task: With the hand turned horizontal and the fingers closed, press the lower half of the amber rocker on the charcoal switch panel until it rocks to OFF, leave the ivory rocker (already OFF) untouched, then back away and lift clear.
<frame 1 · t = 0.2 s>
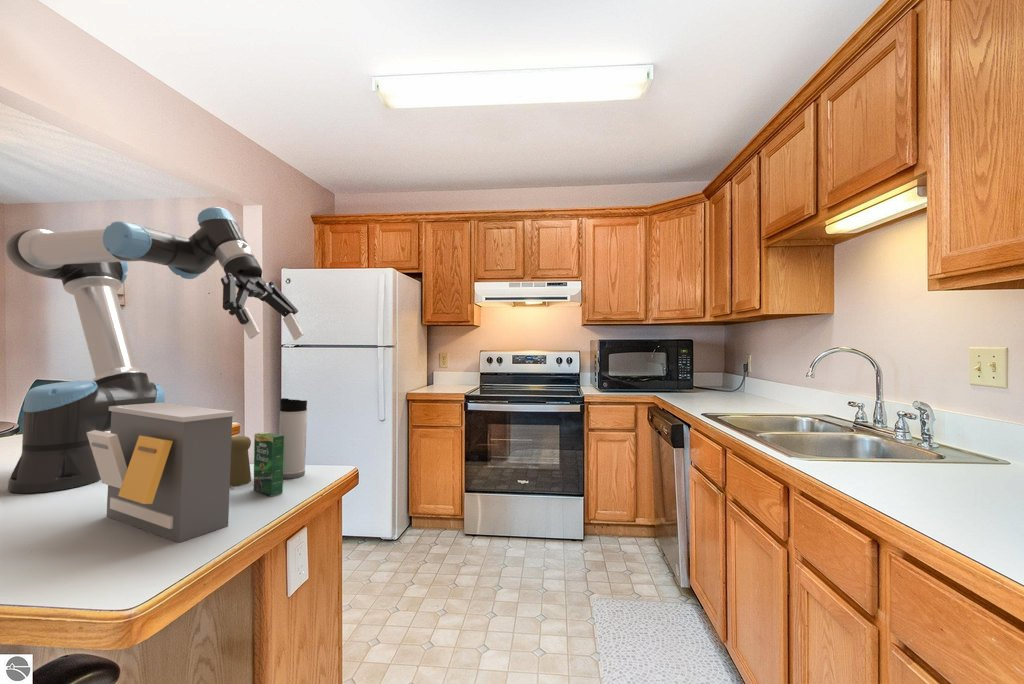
hand: (278, 336, 103), 35 cm above the counter, tool tilted 35°, fingers open, 13 cm apart
rocker ivory: (108, 459, 78), point 12 cm above the counter, hinge at -15.0°
cork: (236, 483, 105), on the counter
switch panel: (166, 521, 81), on the counter
rocker amber: (144, 468, 73), point 12 cm above the counter, hinge at 15.0°
coffee box: (267, 492, 99), on the counter
travel mug: (290, 476, 112), on the counter
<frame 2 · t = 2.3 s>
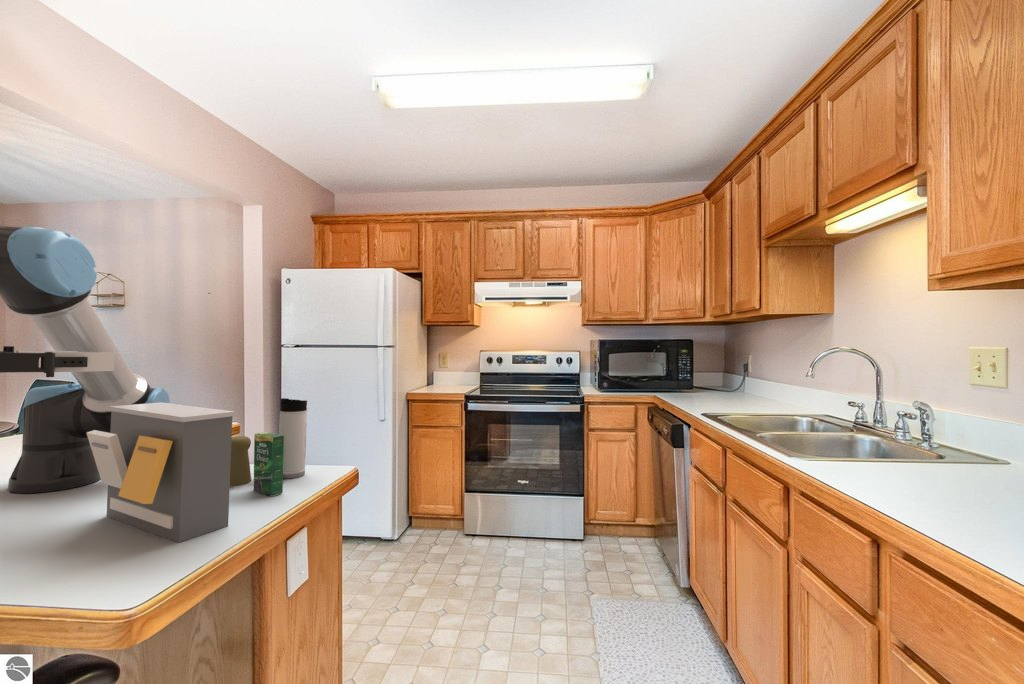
hand: (94, 360, 67), 30 cm above the counter, tool horizontal, fingers open, 11 cm apart
nothing on the counter moved.
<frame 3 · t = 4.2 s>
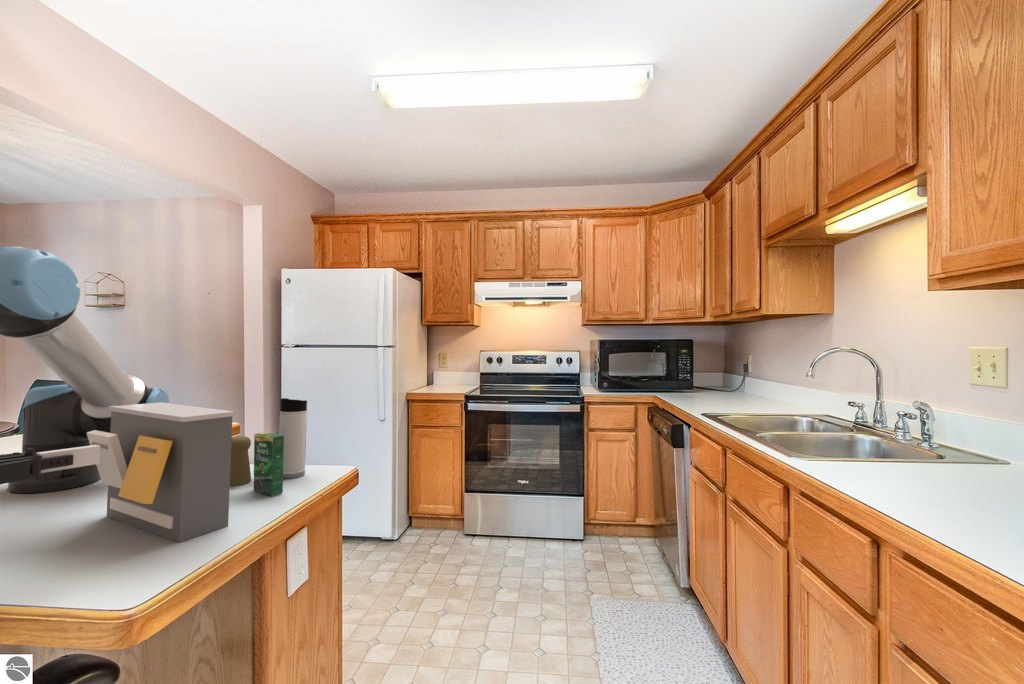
hand: (97, 454, 67), 16 cm above the counter, tool horizontal, fingers closed
nothing on the counter moved.
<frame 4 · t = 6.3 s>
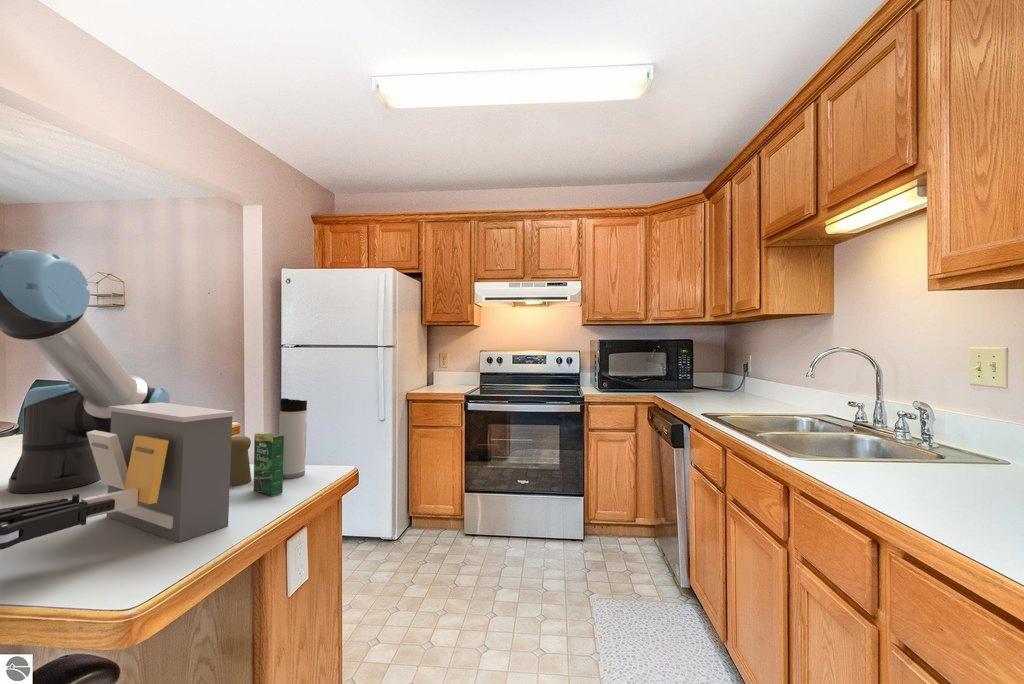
hand: (135, 497, 72), 8 cm above the counter, tool horizontal, fingers closed
rocker amber: (144, 468, 73), point 12 cm above the counter, hinge at 7.8°, touching gripper
everything else where it was.
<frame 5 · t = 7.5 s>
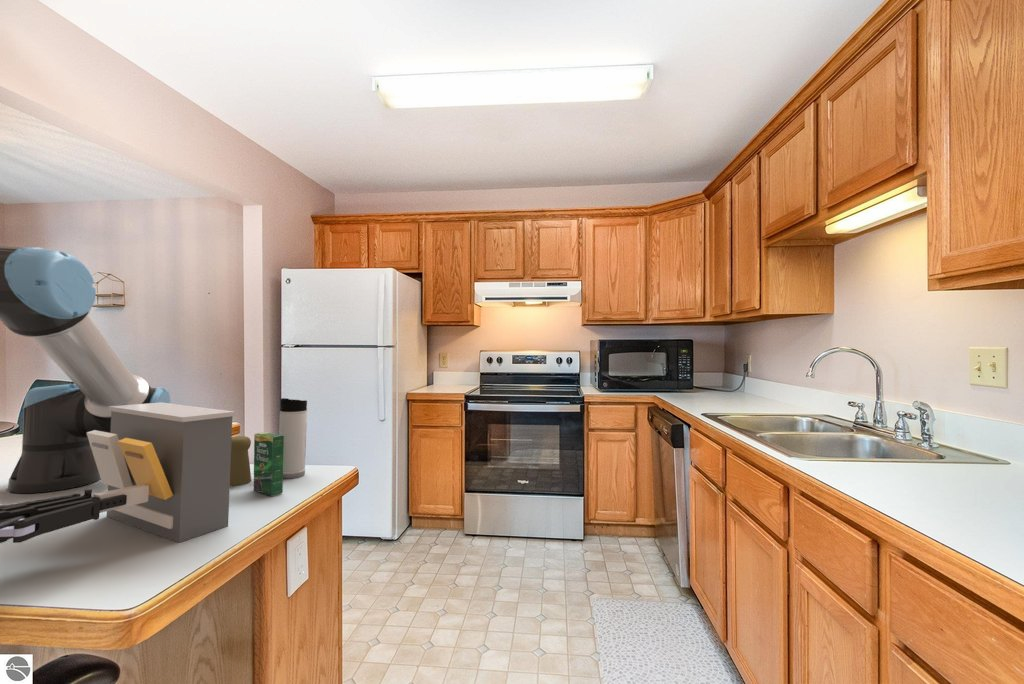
hand: (145, 492, 73), 8 cm above the counter, tool horizontal, fingers closed
rocker amber: (144, 468, 73), point 12 cm above the counter, hinge at -20.0°, touching gripper
everything else where it was.
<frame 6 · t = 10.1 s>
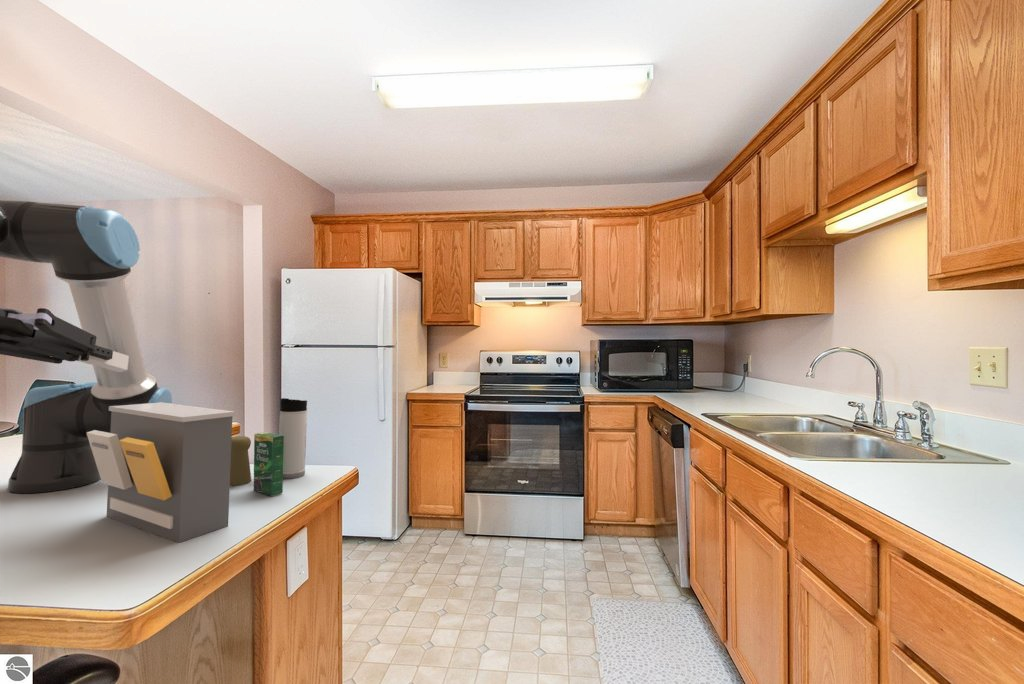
hand: (124, 364, 77), 29 cm above the counter, tool tilted 70°, fingers closed
rocker amber: (144, 468, 73), point 12 cm above the counter, hinge at -17.5°
everything else where it was.
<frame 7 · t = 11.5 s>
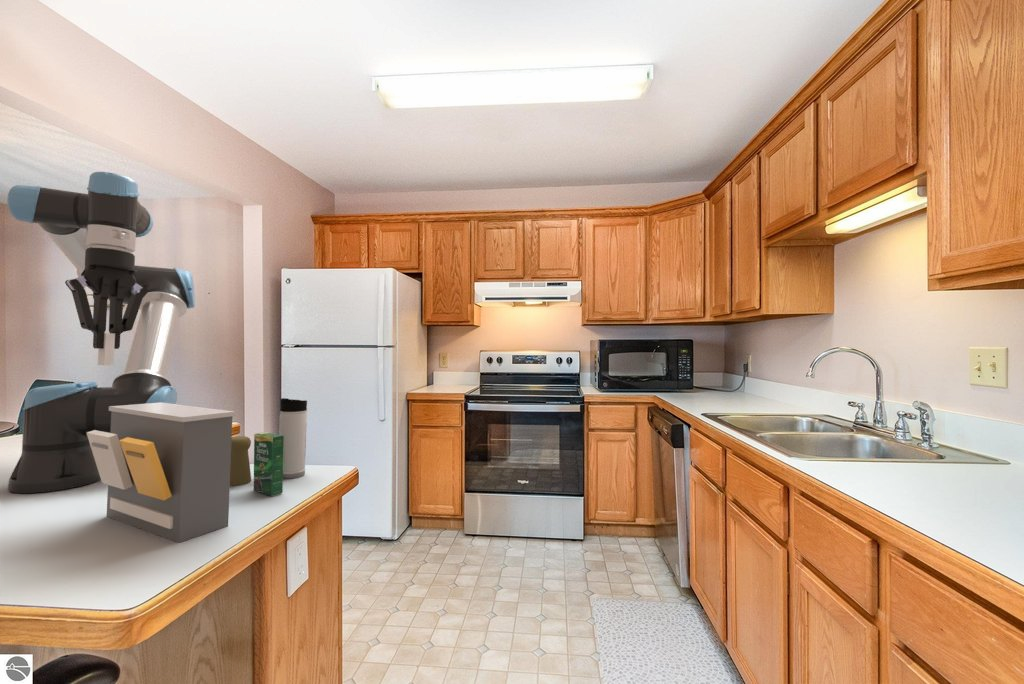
hand: (105, 365, 89), 28 cm above the counter, tool pointing down, fingers closed
nothing on the counter moved.
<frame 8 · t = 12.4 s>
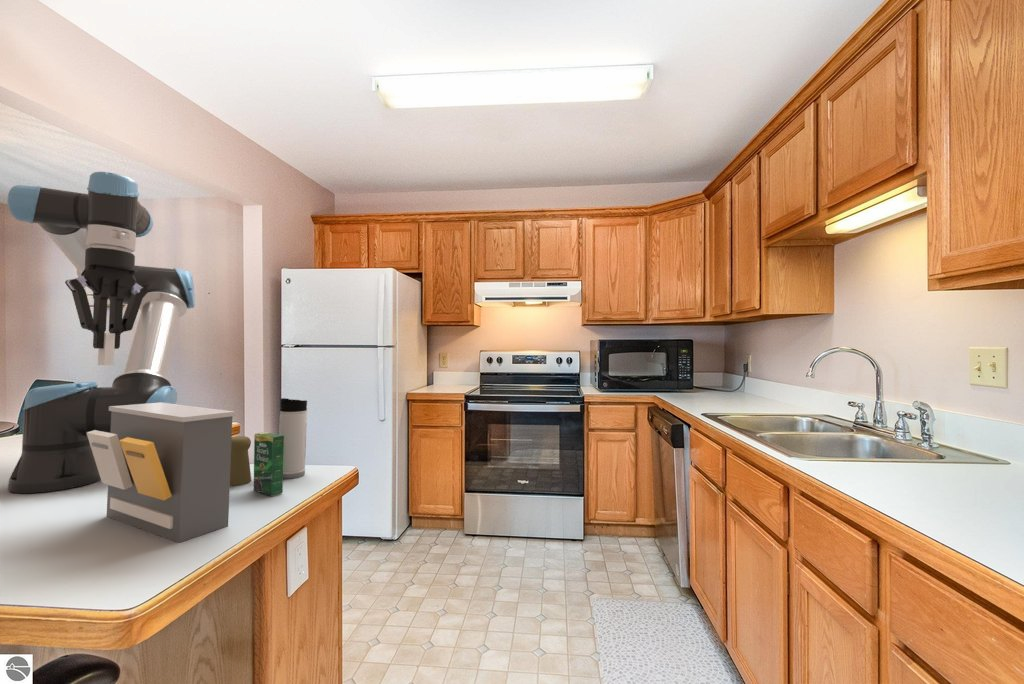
hand: (105, 364, 89), 28 cm above the counter, tool pointing down, fingers closed
nothing on the counter moved.
at the end: rocker amber at -17° (first picture: +15°); rocker ivory at -15° (first picture: -15°) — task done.
